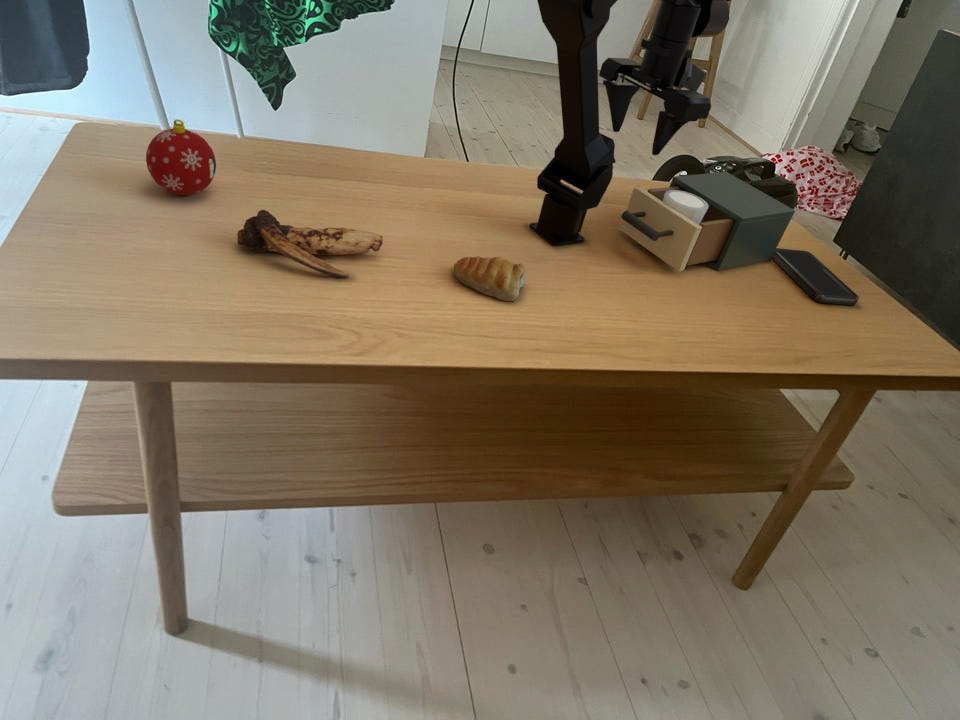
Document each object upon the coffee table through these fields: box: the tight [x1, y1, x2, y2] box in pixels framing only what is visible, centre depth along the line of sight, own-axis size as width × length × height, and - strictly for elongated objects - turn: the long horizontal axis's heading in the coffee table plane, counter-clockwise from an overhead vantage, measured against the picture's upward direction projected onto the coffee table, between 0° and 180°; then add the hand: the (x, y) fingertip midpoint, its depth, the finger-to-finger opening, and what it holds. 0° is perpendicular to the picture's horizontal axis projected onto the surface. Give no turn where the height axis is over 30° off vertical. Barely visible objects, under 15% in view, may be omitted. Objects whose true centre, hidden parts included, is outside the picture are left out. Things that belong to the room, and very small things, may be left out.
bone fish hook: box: [236, 209, 384, 279], centre depth 85 cm, size 9×5×18 cm
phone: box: [771, 247, 860, 306], centre depth 110 cm, size 8×1×15 cm
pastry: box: [452, 255, 526, 302], centre depth 89 cm, size 9×7×4 cm
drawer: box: [619, 186, 736, 272], centre depth 105 cm, size 17×13×7 cm
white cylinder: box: [663, 190, 709, 225], centre depth 105 cm, size 7×7×7 cm
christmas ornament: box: [145, 119, 217, 196], centre depth 91 cm, size 9×9×10 cm
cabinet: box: [669, 171, 796, 272], centre depth 112 cm, size 14×15×9 cm
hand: (634, 142), depth 107 cm, fingers open, 9 cm apart
